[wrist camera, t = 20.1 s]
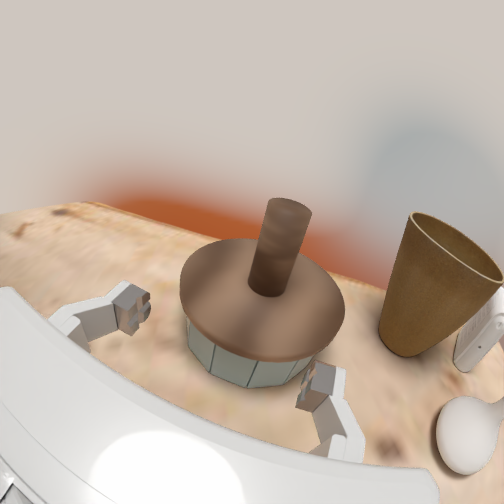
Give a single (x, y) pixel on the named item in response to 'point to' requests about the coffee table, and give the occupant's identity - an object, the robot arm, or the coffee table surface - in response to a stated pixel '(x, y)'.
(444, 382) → the coffee table surface
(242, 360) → the ceramic bowl
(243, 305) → the walnut lid
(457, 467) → the flower in vase
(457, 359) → the photo printer
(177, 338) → the coffee table surface
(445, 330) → the plant pot
